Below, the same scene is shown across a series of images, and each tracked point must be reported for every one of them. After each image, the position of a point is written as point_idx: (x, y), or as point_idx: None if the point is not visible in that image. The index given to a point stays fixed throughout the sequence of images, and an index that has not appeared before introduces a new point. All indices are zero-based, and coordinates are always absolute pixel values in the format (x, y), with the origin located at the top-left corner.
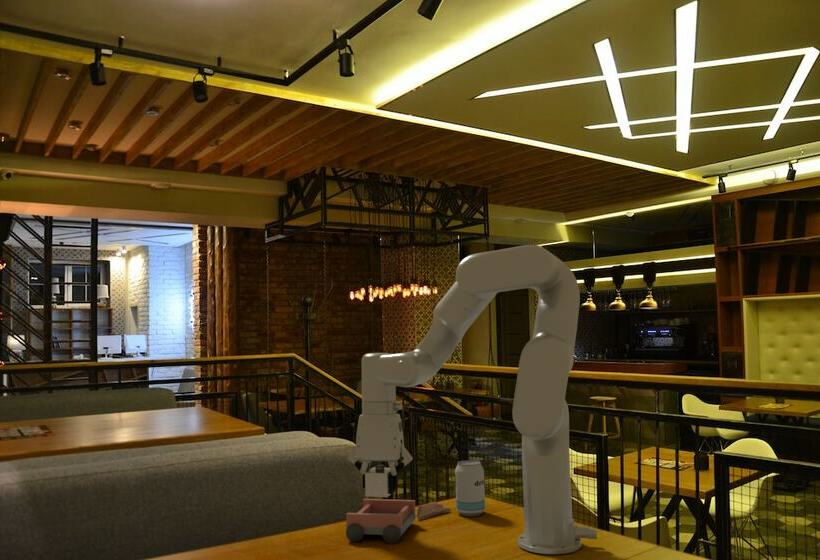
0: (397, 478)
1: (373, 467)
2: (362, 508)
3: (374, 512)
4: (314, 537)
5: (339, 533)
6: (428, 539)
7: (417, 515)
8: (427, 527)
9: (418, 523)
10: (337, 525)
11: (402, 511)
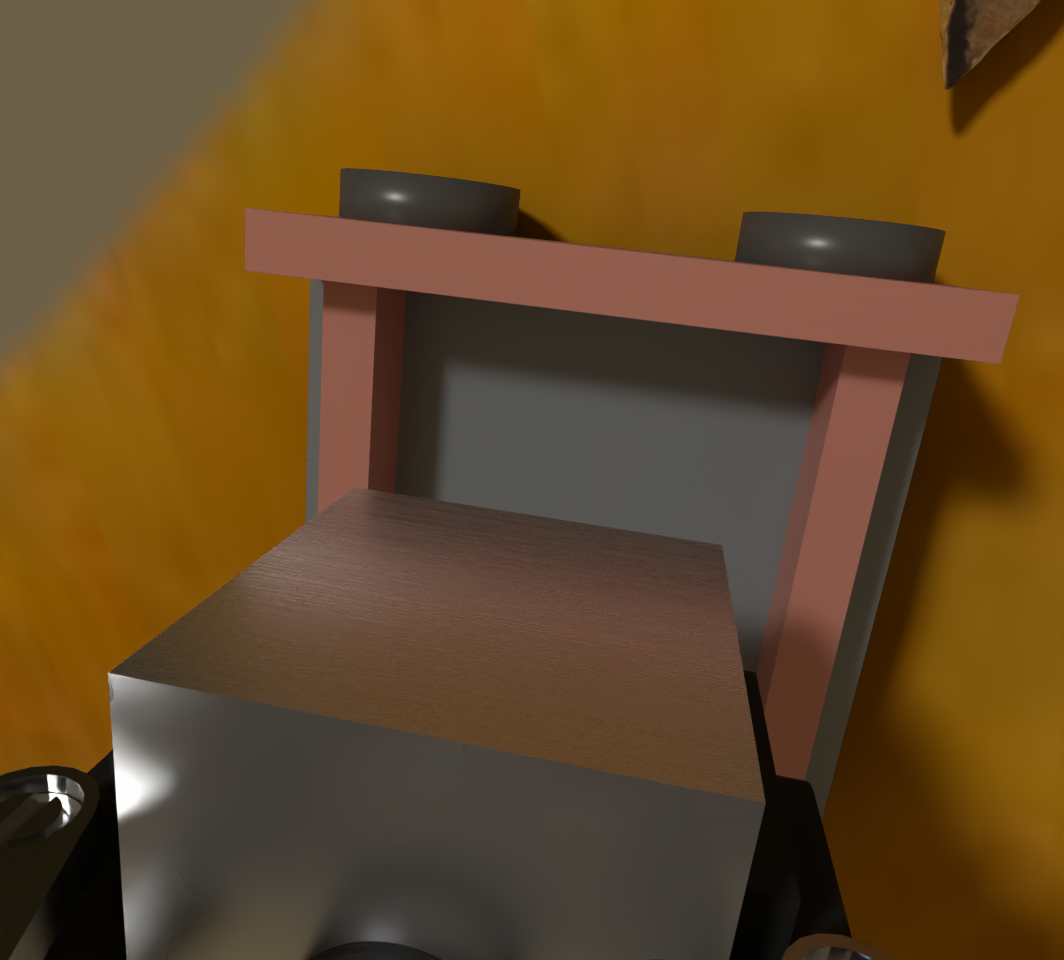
0: (835, 918)
1: (131, 703)
2: (321, 489)
3: (449, 334)
4: (98, 617)
5: (240, 530)
6: (1031, 723)
7: (955, 40)
8: (1047, 360)
9: (946, 208)
10: (146, 301)
11: (817, 635)
